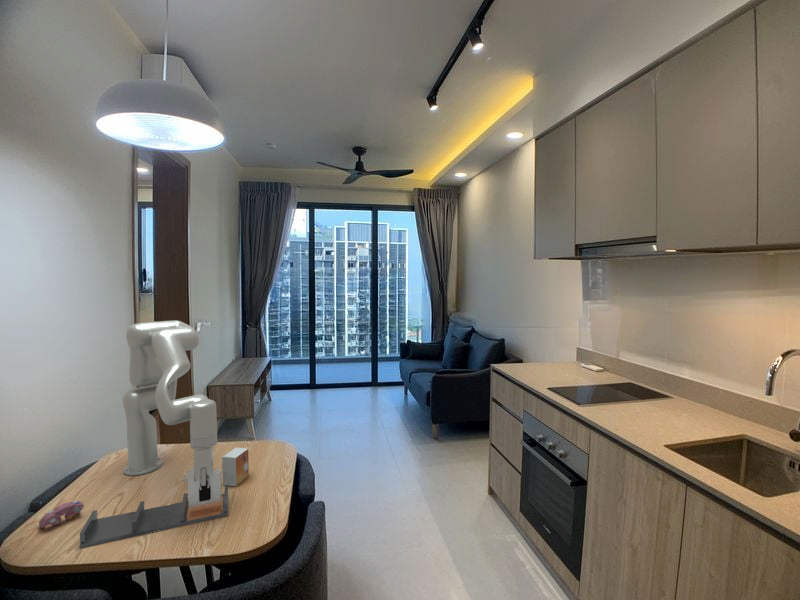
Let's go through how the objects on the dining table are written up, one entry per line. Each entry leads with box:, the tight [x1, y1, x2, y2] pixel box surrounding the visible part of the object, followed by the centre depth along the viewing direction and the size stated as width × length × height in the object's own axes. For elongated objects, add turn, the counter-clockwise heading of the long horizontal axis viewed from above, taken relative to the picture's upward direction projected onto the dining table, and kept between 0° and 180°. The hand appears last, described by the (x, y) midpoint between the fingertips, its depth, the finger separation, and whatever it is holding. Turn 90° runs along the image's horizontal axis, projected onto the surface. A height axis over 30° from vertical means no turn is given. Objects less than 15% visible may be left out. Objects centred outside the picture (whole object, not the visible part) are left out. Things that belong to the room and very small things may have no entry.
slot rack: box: [79, 485, 229, 549], centre depth 119 cm, size 12×37×4 cm, turn 113°
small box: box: [221, 447, 250, 487], centre depth 141 cm, size 8×6×10 cm
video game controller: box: [38, 499, 85, 529], centre depth 117 cm, size 10×5×7 cm, turn 150°
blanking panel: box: [187, 467, 222, 508], centre depth 123 cm, size 4×9×9 cm, turn 113°
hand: (205, 495), depth 123 cm, fingers closed on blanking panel, 4 cm apart
